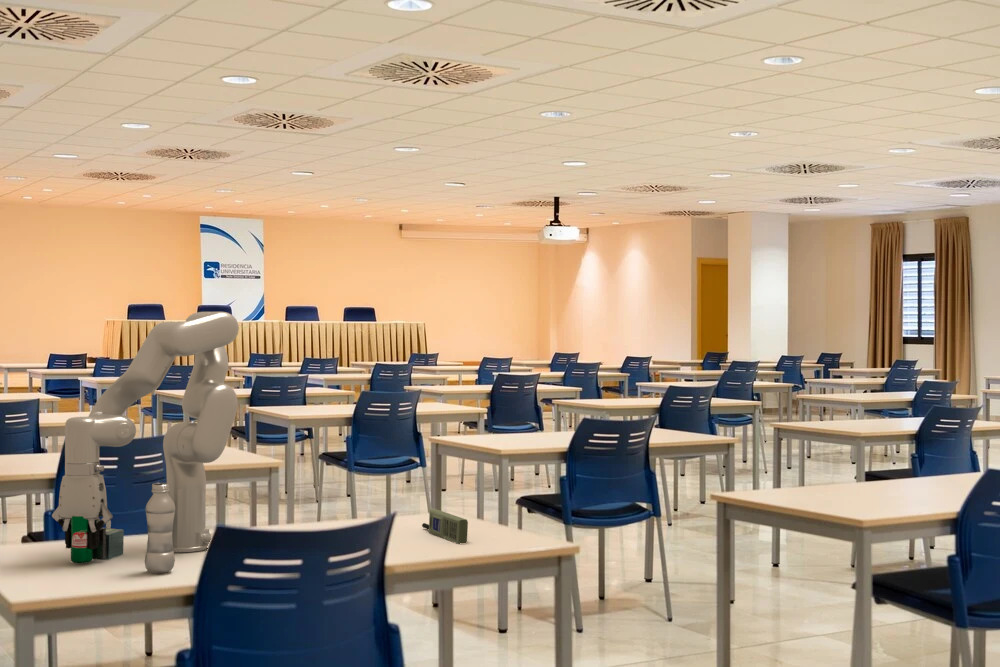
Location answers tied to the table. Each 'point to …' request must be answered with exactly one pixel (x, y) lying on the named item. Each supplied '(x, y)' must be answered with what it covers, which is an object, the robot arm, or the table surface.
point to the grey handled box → (102, 543)
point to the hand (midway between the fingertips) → (82, 547)
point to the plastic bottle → (160, 530)
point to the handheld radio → (447, 526)
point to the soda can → (80, 540)
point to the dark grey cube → (114, 543)
